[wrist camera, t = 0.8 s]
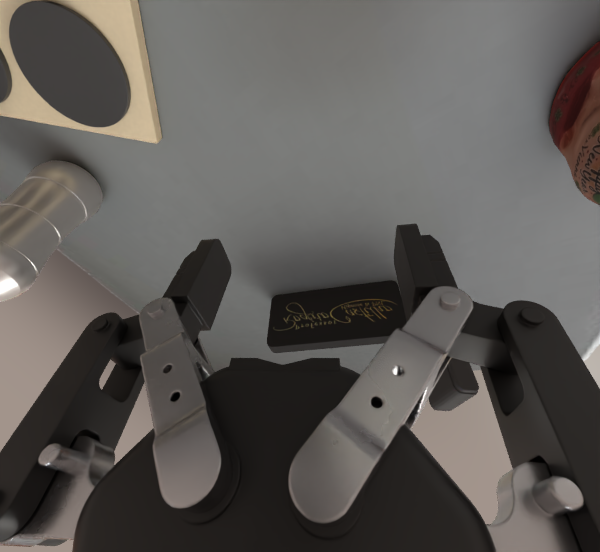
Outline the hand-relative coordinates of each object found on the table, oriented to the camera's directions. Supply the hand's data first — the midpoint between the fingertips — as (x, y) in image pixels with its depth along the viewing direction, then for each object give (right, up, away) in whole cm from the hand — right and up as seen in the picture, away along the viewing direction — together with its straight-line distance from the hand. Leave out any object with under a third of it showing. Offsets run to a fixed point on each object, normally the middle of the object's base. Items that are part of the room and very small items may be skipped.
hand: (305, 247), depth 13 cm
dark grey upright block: (+24, -10, +41) cm, 48 cm away
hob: (-24, +19, +11) cm, 33 cm away
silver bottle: (-27, +10, +21) cm, 35 cm away
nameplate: (+5, -4, +35) cm, 36 cm away
